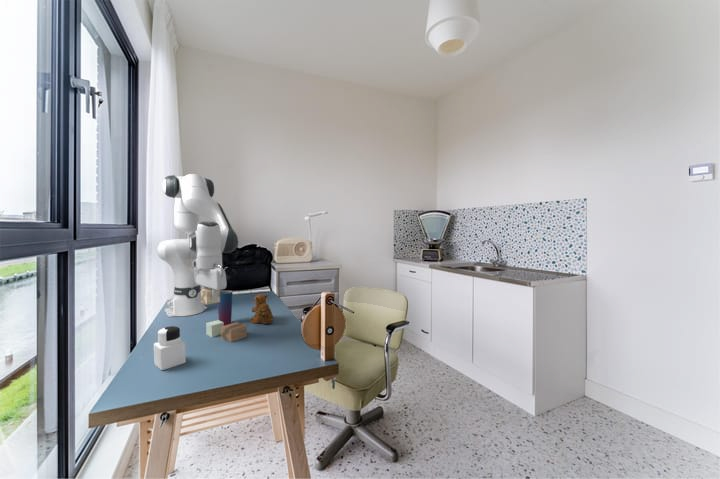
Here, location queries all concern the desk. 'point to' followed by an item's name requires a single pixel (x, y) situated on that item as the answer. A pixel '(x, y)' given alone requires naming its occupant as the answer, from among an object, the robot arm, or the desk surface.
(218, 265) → the robot arm
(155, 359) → the medicine bottle
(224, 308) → the cup
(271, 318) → the brown teddy bear
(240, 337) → the walnut base
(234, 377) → the desk surface
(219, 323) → the sage cube
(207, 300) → the oak cube
